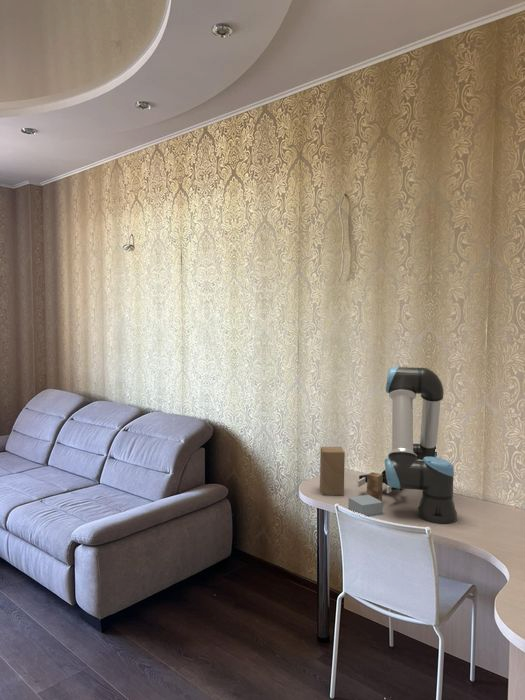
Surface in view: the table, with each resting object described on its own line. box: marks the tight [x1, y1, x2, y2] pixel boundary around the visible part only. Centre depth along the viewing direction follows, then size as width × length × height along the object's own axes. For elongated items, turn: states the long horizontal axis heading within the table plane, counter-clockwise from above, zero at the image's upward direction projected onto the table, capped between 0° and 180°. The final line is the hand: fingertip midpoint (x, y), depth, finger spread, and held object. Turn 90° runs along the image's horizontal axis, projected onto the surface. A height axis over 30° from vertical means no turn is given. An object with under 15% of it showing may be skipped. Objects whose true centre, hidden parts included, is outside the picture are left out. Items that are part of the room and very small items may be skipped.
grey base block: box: [347, 494, 384, 517], centre depth 210 cm, size 10×10×5 cm
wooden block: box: [319, 446, 346, 496], centre depth 233 cm, size 10×10×20 cm
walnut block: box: [366, 471, 384, 502], centre depth 221 cm, size 5×5×12 cm
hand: (372, 486), depth 220 cm, fingers open, 13 cm apart
